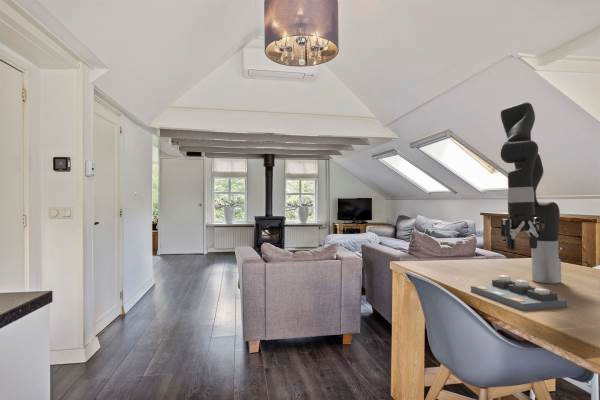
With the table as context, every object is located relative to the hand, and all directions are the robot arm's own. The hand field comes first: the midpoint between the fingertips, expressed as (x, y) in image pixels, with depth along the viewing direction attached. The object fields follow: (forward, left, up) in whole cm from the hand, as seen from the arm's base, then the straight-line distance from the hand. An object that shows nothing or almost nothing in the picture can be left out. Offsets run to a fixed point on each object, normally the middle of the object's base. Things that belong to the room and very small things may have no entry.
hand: (522, 249), depth 115 cm
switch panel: (0, -4, -18) cm, 18 cm away
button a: (-3, -12, -14) cm, 18 cm away
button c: (-3, +4, -15) cm, 16 cm away
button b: (-3, -4, -14) cm, 15 cm away
